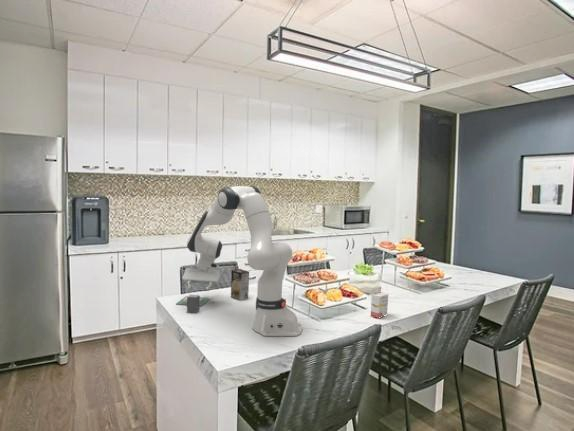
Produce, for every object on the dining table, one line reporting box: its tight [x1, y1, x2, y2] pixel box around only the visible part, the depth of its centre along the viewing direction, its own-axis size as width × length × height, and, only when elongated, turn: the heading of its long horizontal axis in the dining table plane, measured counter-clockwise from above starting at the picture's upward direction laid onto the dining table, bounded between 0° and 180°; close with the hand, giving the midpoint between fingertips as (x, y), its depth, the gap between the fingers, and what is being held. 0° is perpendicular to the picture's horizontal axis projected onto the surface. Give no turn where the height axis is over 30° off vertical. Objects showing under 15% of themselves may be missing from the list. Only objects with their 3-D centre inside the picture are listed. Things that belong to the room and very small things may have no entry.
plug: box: [186, 294, 201, 315], centre depth 187 cm, size 5×4×8 cm
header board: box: [175, 295, 211, 307], centre depth 203 cm, size 14×14×2 cm
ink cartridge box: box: [370, 286, 389, 319], centre depth 190 cm, size 9×5×15 cm, turn 135°
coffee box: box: [230, 268, 250, 302], centre depth 212 cm, size 9×6×16 cm
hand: (198, 289), depth 193 cm, fingers open, 8 cm apart
